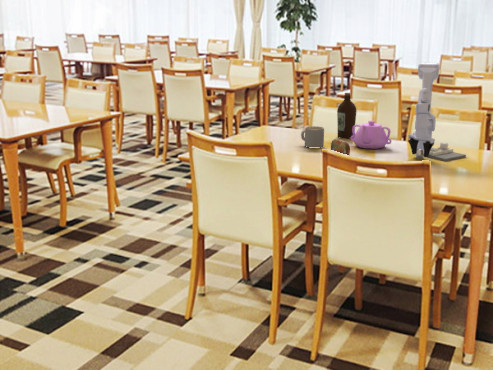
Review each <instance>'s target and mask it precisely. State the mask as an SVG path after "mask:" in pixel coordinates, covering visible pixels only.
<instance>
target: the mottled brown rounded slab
mask: <svg viewBox="0 0 493 370" xmlns="http://www.w3.org/2000/svg"><path fill="white" fill-rule="evenodd" d="M331 150H334V151H337V152H340V153H343V154H347V155H349V156H350V154H351V146H350V144H349V143H348V142H347V141H345V140H342V139H339V138H338V139H337V138H336V139H335V138H334V139H333V140H332V141H331V143H330V151H331Z"/></svg>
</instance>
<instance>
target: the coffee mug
mask: <svg viewBox="0 0 493 370" xmlns="http://www.w3.org/2000/svg"><path fill="white" fill-rule="evenodd" d="M300 137H301V140H302V141H303V142H304V147H305V146H307V147H323V146H324V147H325V145H324V144H325V128H324V127H323V126H314V125H313V126H311V125H310V126H306V127H304V129H303V130H302V131H301V133H300ZM324 147H323V148H324Z"/></svg>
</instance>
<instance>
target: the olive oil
mask: <svg viewBox="0 0 493 370" xmlns="http://www.w3.org/2000/svg"><path fill="white" fill-rule="evenodd" d="M336 112H337V115H336V117H337V118H336V119H337V138H338V137H340V138H339V139H343V138H346V139H348V138H350V139H351V136H353V132H352V128H353V126H354V125H356V119H357V107H356V105H355V104H354V101H352V100H351V93H350V92H344V97H343V101H342V102H340V104H339V105H338V107H337V111H336ZM346 139H345V140H346ZM353 139H354V137H353ZM348 140H349V139H348Z"/></svg>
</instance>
